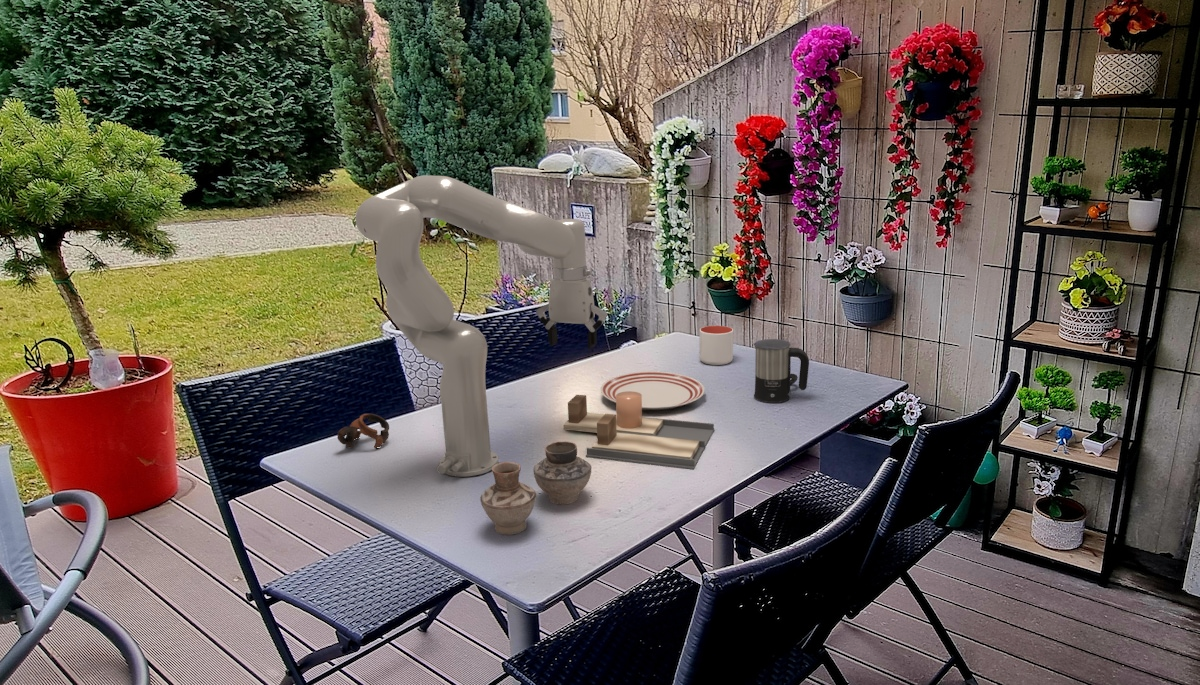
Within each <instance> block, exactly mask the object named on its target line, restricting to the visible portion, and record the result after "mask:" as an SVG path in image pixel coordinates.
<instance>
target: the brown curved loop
mask: <svg viewBox="0 0 1200 685" xmlns="http://www.w3.org/2000/svg"><path fill="white" fill-rule="evenodd" d="M366 419H367V420H368V423H377V422H378V423H379V424H380V427H381V430H380V434H378V432H379V431H378V430H377V429H375V428H372V427H370V426H368V425H367V424H366V423H365V422H364V420H366ZM382 429H383V430H382ZM389 430H390V425H389V422H388V421H387V420H386V419H385V418H383V416H380V415H378V414H375V413H371V412H370V413H363V414H361V415H360V416H359V418H356V419H355V420H353V421H352V422H351V423H350V425H349V426H344V427H342V428H340V429H339V430H338V431H337V435H336V436H337V440H338V442H339V443H341V445H345V447H346V446H347V447H348V448H350V449H353V448H354V442H355V440H354V439H356V438H359V437H361V434H362V435H364V436H366V437H369V438H370V439H374V440H375V442H374V446H373V448H374V449H375V448H377V447H380V446H381V447H382V446H383V444H385V443H386V442H387V441H388V439H389V436H390V433H389ZM359 439H360V438H359ZM356 440H357V439H356ZM347 447H346V448H347Z"/></svg>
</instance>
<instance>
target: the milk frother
mask: <svg viewBox="0 0 1200 685" xmlns="http://www.w3.org/2000/svg"><path fill="white" fill-rule="evenodd" d="M791 345H792V344H791V342H790V341H789V340H788V341H787V340H784V339H778V338H777V339H776V338H768V339H767V338H766V339H760V340H757V341H755V342H754V343H753V346H754V348H755V356H754V357H755V365H754V366H755V369H754V371H755V374H754V376H755V377H754V378H755V379H754V382H755V383H754V394H753V398H754V399H755V400H756V401H758V402H761V403H767V404H768V403H769V404H776V403H777V404H778V403H784V402H787V401H788V400H789V399H790V392H791V386H792V385H794V384H795V383H796V382H797V381H798V388H799V390H801V391H805V390H806V389H807V387H808V386H807V385H808V378H809V366H810V359H809V356H808V354H807V352H806V351H804V350H803V349H802V348H798V347H790V346H791ZM792 357H793V358H794V357H795V358H798V359H799V360H800V365H799V366H800V367H799V375H797V374H795V373H791V361H792V360H791V358H792Z"/></svg>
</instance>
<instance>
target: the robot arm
mask: <svg viewBox="0 0 1200 685" xmlns="http://www.w3.org/2000/svg"><path fill="white" fill-rule="evenodd" d="M425 218H430V219H437V220H440V221H442V222H446V223H448V224H451V225H453V226H456V227H458V228H461V229H463V230H466V231H468V232H471V233H473V234H476V235H478V236H480V237H482V238H487V239H490V240H494V241H496V242H497V241H499V242H505V243H510V244H516V245H518V248H519V249H520V250H521V251H523V252H524V253H525V254H527V255H530V256H536V257H541V258H542V257H543V258H550V259H552V268H553V270H552V271H553V272H552V274H553V278H552V279H550V285H549V291H548V292H549V294H548V295H549V296H548V303H547V304H545V305H543V306H541V307H539V308H537V309H536V310H535V312H536V314H537V316H538V318H539V320H540V322H541V323H542V324H543V325H544V327H545V329H546V330H547V341H548V342H549V346H550V347H553V346H555V345H556V344H558V328H557V326H555V325H556V324H557V323H564V324H577V325H578V324H579V325H585V326H586V328H587V330H588V332H587V349H589V350H593V348H595V347H596V345H597V343H598V335H597V334H598V332H597V330H598V329H599V328H600V327H601V326H602V325H603V324H604V323H605V321H606V318H607V316H608V312H606V311H605V310H603V309H601V308H600V307H598V306H596V305H595V300H594V299H595V297H594V292H593V286H592V282H591V279H590V278H588V277H589V276H590V277H591V276H592V274H593V270H592V269H589V268H588V266H587V258H586V257H587V254H586V228H585V223H584V222H583V221H582V220H580V219H577V218H562V219H558V220H557V219H554V218H552V217H550V216H547V215H544V214H543V213H540V212H537V211H534V210H531V209H529V208H526V207H522V206H520V205H518V204H516V203H513V202H510V201H507V200H505V199H504V200H503V199H501V198H499V197H496V196H495V195H494V196H493V195H492V194H489V193H487V192H485V191H483V190H480V189H479V188H476V187H474V186H471V185H469V184H467V183H465V182H462V181H460V180H458V179H457V178H453V177H450V176H446V175H430V174H428V175H427V174H425V175H423V174H422V175H418V176H416V177H413V178H410V179H408V180H406V181H403V182H401V183H399V184H397V185H395V186H393V187H390V188H388V189H386V190H383V191H381V192H379V193H377V194H375V195H373V196H370V197H369V198H366V199H365V200H364V201H363V202H361V204H360V205H359V207H358V208H357V210H356V214H355V225H356V228H357V229H358V232H359V233H360V234H361V235H362V236H364V238H366V239H368V240H369V241H374V242H377V245H376V254H375V265H376V272H377V275H378V277H379V279H380V280H381V281H380V282H381V283H382V284H383V286H384V287H385V288H386V289H387V290H386V291H388V292H387V295H386V299H385V306H386V310H387V312H388V313H387V314H388V316H389V318H390V319H391V320H392V322H393V323H394V324H395V326H396V327H397V328H398V329H399V331H401V333H402V334H403V335H404V336H405V337H406V339H407V340H408V341H409V342H410V343H411V344H412V345H413V347H414V348H415V349H416V350H417V351H418V352H419V354H421V355H423V357H425V358H427V359H428V360H432V361H434V362H436V363H439V364H441V365H442V368H443V369H442V372H441V377H440V382H439V395H440V402H441V403H440V404H441V413H442V414H441V415H442V426H443V435H444V445H445V452H444V456H443V457H441V459H440V460H439V465H438V466H437V468H436V470H437V472H438V473H439V474H440V475H443V474H446V475H447V476H452V477H461V478H462V477H465V478H466V477H475V476H479V475H483V474H486V473H488V472H490V471H492V467H493V466H494V465H496V464H498V463H500V462H499V456H498V454H497V453H496V452H494V451H493V450H491V438H490V426H489V412H488V410H489V409H488V401H487V400H488V399H487V398H488V397H487V389H486V388H487V386H486V367H487V365H486V364H487V356H488V344H487V339H486V337H485V336H484V334H483V333H482V332H481V331H480V329H478V328H477V327H475V326H473V325H471V324H468V323H466V322H462V321H459V320H455V319H454V316H455V314H454V313H455V310H454V305H453V302H452V300H451V298H450V297H449V296H448V294H447V293H446V292H445V290H444V289H443V288H442V287H441V286H440V284H439V283H438V282H437V280H436V279H435V277H434V276H433V275H432V273H431V272H430V271H429V270H428V268H427V267H426V265H425V263H424V262H423V261H422V258H421V255H420V246H421V245H420V244H421V240H422V237H423V236H422V235H423V232H424V219H425ZM546 311H548V316H547V315H546V313H545V312H546ZM595 315H596V316H598V319H597V321H595Z"/></svg>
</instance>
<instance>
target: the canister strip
mask: <svg viewBox="0 0 1200 685" xmlns="http://www.w3.org/2000/svg"><path fill="white" fill-rule="evenodd" d="M587 401H588V400H587V395H586V394H575V395H574V396H573V397H571V399H570V400H569V401H568V402H567V416H568V419H567V420H566V421H565V422H564V423H563V430H566V431H578V432H587V433H596V434H597V422H598V421H599V420H600V419H601V418H602V417H603V416H604V415H605V414H606V413H599V412H588V405H587ZM615 415H616V431H617V432H626V433H636V434H646V435H656V434H657V432H658V431H659V430H660V428H661V427H662V425H663V420H662V419H663V418H658V419H652V418H653V417H648V418H642V425H641V426H639V427H637V428H621V427H619V426H618V425H617V414H615Z"/></svg>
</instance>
